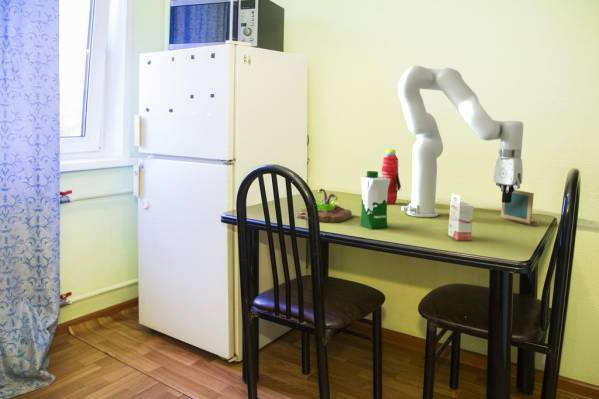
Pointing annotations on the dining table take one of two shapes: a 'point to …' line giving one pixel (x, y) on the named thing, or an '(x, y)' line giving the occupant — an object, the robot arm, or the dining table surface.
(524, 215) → the photo frame
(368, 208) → the milk carton
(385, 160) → the water bottle
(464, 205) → the ink cartridge box
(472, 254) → the dining table surface
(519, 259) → the dining table surface
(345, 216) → the plant
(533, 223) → the frame foot
